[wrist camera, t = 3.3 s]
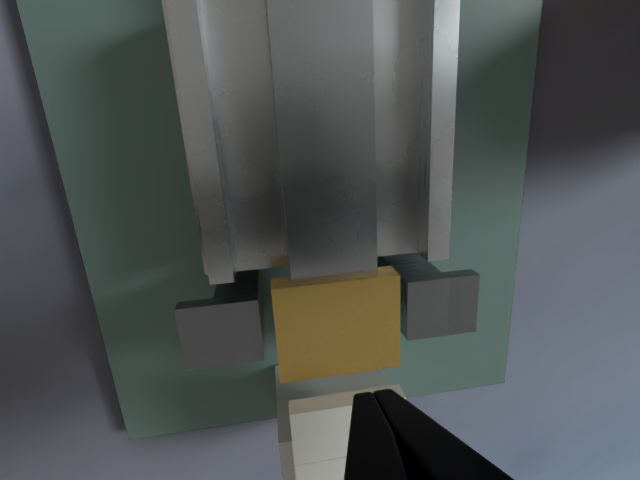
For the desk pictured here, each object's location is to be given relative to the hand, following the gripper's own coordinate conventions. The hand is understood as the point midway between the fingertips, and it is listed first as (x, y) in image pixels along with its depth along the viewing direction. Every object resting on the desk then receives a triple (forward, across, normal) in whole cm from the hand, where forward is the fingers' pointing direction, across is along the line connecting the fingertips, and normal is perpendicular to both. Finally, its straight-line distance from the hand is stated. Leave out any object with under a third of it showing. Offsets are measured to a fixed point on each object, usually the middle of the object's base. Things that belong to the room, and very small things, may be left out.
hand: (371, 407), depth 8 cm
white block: (+10, 0, +5) cm, 11 cm away
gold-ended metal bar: (+7, 0, -6) cm, 9 cm away
